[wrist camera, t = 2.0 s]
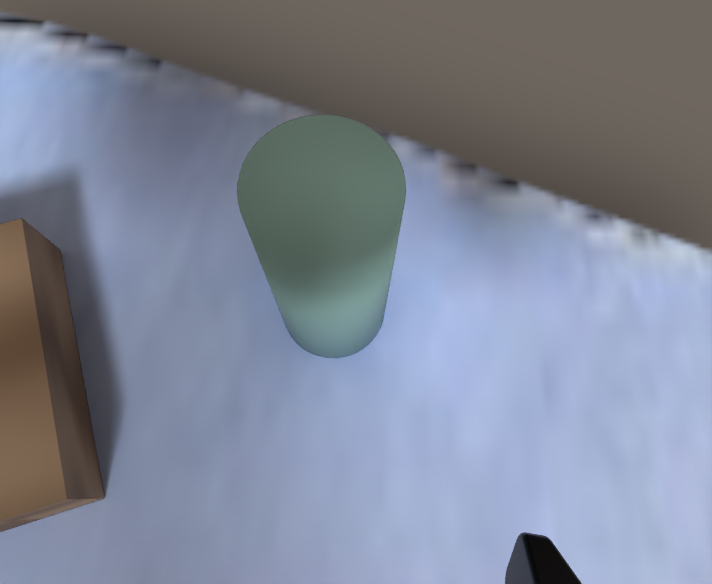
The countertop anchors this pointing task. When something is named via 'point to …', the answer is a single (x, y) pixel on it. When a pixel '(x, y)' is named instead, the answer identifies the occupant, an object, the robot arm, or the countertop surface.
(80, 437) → the socket block
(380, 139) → the dowel
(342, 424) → the countertop surface
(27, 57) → the countertop surface
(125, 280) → the countertop surface
